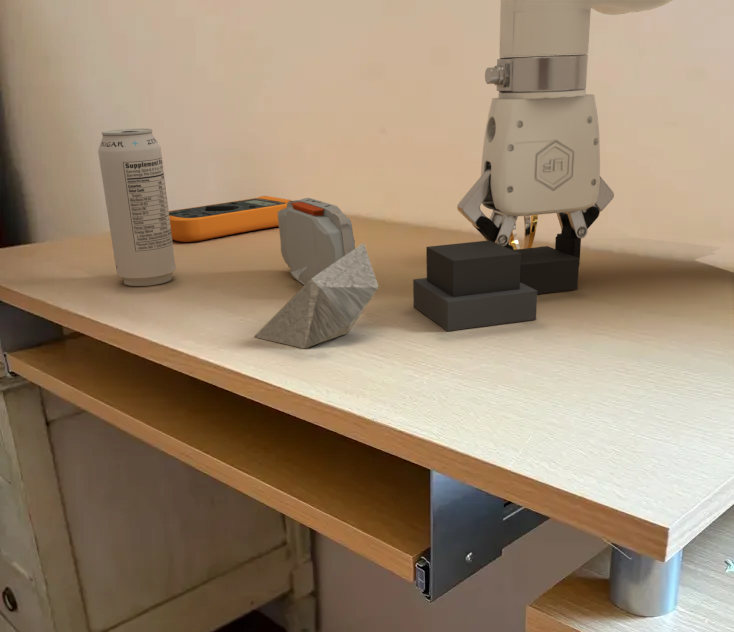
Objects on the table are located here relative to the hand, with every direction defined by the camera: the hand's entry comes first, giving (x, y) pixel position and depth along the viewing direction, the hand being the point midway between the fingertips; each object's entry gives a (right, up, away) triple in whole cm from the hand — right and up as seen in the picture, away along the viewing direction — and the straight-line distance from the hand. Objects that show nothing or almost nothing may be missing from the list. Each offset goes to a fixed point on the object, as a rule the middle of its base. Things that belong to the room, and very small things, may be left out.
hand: (533, 279), depth 79 cm
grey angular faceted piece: (-19, -6, -11) cm, 23 cm away
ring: (+1, +4, +11) cm, 12 cm away
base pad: (-7, -4, -7) cm, 11 cm away
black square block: (-7, -2, -8) cm, 11 cm away
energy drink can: (-39, +1, +8) cm, 40 cm away
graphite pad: (0, -1, 0) cm, 1 cm away
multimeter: (-35, +11, +33) cm, 49 cm away
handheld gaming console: (-21, 0, +4) cm, 21 cm away
